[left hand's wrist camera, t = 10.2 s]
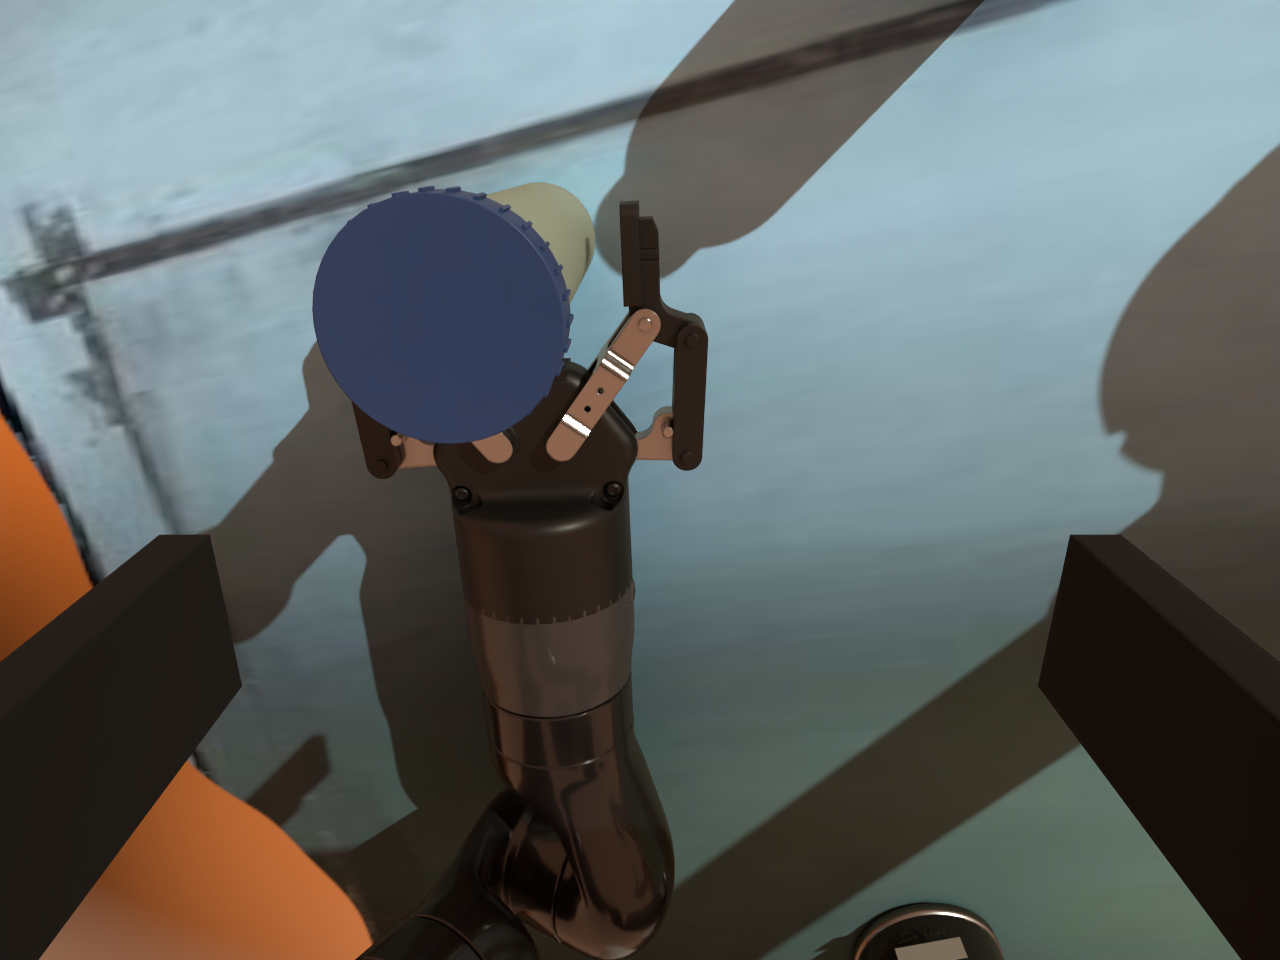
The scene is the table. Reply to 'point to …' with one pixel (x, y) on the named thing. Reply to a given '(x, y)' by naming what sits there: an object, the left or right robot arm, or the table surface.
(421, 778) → the table surface
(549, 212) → the jar
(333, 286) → the lid
